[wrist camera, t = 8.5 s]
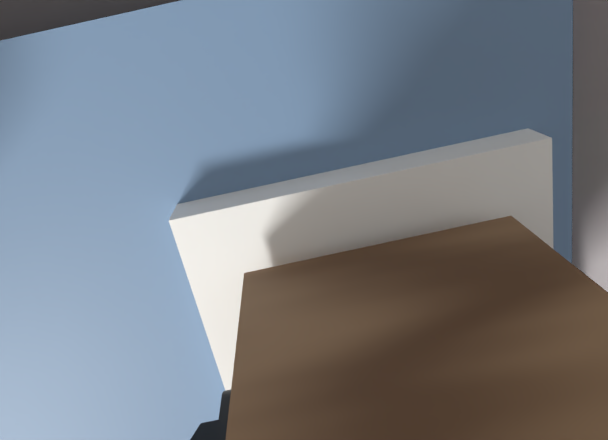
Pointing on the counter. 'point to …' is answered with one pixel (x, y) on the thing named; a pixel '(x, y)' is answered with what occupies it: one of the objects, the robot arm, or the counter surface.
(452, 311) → the walnut cube
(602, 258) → the counter surface
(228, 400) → the robot arm
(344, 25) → the board
